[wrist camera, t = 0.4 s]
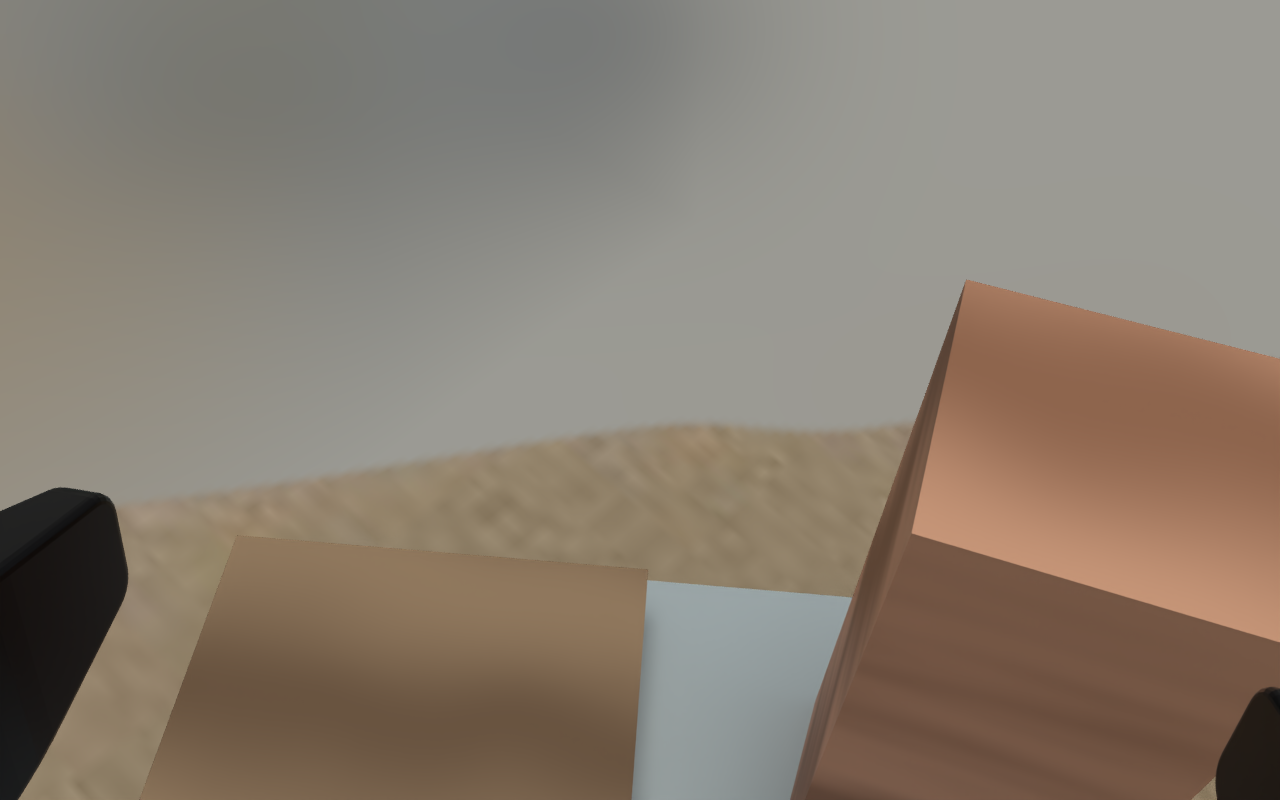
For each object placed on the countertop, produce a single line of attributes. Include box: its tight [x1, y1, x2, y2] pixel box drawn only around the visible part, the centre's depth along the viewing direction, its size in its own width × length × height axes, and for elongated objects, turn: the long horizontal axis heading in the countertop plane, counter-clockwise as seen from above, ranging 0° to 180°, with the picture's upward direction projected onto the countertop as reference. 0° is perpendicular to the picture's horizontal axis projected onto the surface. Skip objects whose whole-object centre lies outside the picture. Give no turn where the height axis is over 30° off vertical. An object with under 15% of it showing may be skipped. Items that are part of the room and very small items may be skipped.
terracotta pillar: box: [790, 280, 1280, 800], centre depth 18 cm, size 4×4×12 cm
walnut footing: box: [139, 535, 648, 800], centre depth 22 cm, size 9×9×2 cm
